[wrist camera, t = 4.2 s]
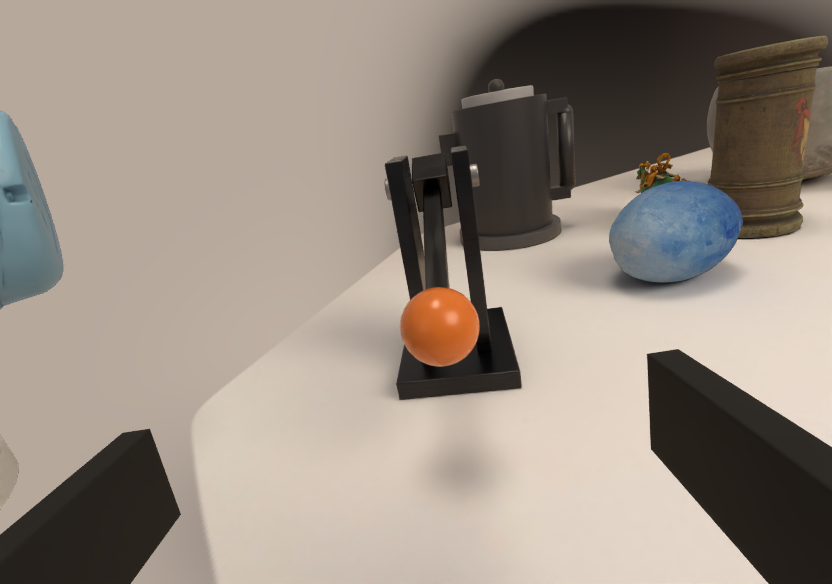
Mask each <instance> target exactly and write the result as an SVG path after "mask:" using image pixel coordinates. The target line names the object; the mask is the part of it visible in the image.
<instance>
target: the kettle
mask: <svg viewBox="0 0 832 584" xmlns="http://www.w3.org/2000/svg"><path fill="white" fill-rule="evenodd" d="M488 91H489V93H486V94H481V95H476V96H472V97H468V98H464V99H462V109H460V110H455V111H452V112H451V114H452V122H453V130H454V132H453V133H448V134H442V135H439V141H440V148H441V153H445V155H446V162H447V166H450V165H453V163H452V155H451V148H453V147H459V146H466V148H467V149H468V152H469V161H470V165H472V164H477V168H478V175H479V186H476V187H473V195H474V203H475V211H476V220H477V228H478V237H479V245H480V250H509V249H517V248H524V247H529V246H533V245H537V244H540V243H544V242H546V241H549V240H551V239H553V238H555V237H557V236H558V235H559V234H560V232H561V221H560V218H559V217H558V216H556V215H553V214H552V200H558V199H565V198H571V190H572V189H573V188H574V186H575V160H574V129H573V109H572V108H571V106H570V105H567V97H565V98H559V99H554V100H548V101H546V94H541V95H533V86H525V87H518V88H512V89H506V90H504V84H503V82H502V81H501V80H499V79H494V80H492V81H491V82H490V84H489V86H488ZM552 113H557V114H556V115H557V134H558V135H557V137H558V159H559V180H560V185H559V186H553V187H551V179H550V159H549V141H548V121H547V114H552ZM460 239H461V243H462V245H463V238H462V231H461V229H460Z"/></svg>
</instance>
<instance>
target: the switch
mask: <svg viewBox="0 0 832 584" xmlns="http://www.w3.org/2000/svg"><path fill="white" fill-rule="evenodd" d="M412 184H413V188H414V193H415V197H416V202H417V206H418V211H419V212H423V213H424V216H423V217H424V254H425V290H424V291H422V292H420V293H418V294H417V295H416V296H414V297H413V298H412V299H411V300H410V301H409V303H408V304H407V305H406V307H405V309H404V311H403V314H402V317H401V323H400V330H401V336H402V340H403V342H404V344H405V346H406V348H407V349H408V351H409V352H410V353H411V354H412V355H413V356H414V357H415V358H416V359H418V360H419V361H421V362H423V363H425V364H428V365H431V366H449V365H452V364H455V363H457V362H459V361H461V360H462V359H464V358H465V357H466V356H467V355H468V354H469V353H470V352H471V351H472V349H473V348H474V346H475V344H476V342H477V339H478V336H479V319H478V314H477V312H476V310H475V308H474V306H473V304H472V303H471V302H470V301H469V300H468V299H467V298H466V297H465V296H464V295H463V294H461V293H460V292H458V291H456V290H453V289H450V288H449V278H448V265H447V253H446V241H445V228H444V216H443V208H449V207H452V201H451V191H450V183H449V176H448V169H447V162H446V155H445V153H440V154H434V155H428V156H422V157H416V158H412Z"/></svg>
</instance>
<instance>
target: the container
mask: <svg viewBox="0 0 832 584" xmlns="http://www.w3.org/2000/svg"><path fill="white" fill-rule="evenodd" d="M827 44H828V39H827V37H826V36H818V37H811V38H804V39H798V40H793V41H788V42H783V43H777V44H772V45H767V46H762V47H758V48H753V49H749V50H744V51H739V52H736V53H732V54H728V55H725V56H721V57H718V58H717V59H716V61H715V64H714V67H715V68H716V69H717V70H719V71H720V75H719V76H717V79H718V83H719V88H718V98H717V100H716V101H715V103H716V105H717V107H716V119H715V132H714V146H713V159H712V169H711V178H710V179H709V181H708V184H709V185H711V186H714V187H716V188H718V189H720V190H721V191H723V192H724V193H726V194H727V195H728V196H729V197H730V198H731V199H732V200H734V201H735V202H736V204H737V205H738V207H739V209H740V211H741V214H742V219H743V225H742V228H741V231H740V234H739V236H738V238H761V237H771V236H778V235H784V234H788V233H791V232H794V231H796V230H798V229H799V228H800V226H801V224H802V222H803V216H802V215H801V214H800V213H799V212H798V211H797V210H800V209H801V208H802V207H803V203H802V200H801V199H800V191H801V183H802V180H803V178H804V173H803V172H802V171H803V163H804V155H805V148H806V142H807V135H808V128H809V122H810V115H811V106H812V100H813V95H814V90H815V89H816V85H815V75H816V66H818V65H819V64H818V62H819V61H821V58H820V57H818V53H819V52H820V51H822V50H823V49H824V48H825V47H826V46H827Z"/></svg>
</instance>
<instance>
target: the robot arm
mask: <svg viewBox="0 0 832 584" xmlns="http://www.w3.org/2000/svg"><path fill="white" fill-rule="evenodd" d="M62 274H63V259H62V254H61V249H60V245H59V241H58V237H57V233H56V230H55V226H54V223H53V220H52V217H51V213H50V210H49V207H48V204H47V201H46V198H45V195H44V192H43V189H42V187H41V184H40V181H39V178H38V175H37V173H36V170H35V167H34V165H33V162H32V160H31V157H30V155H29V152H28V150H27V147H26V145H25V143H24V141H23V138H22V136H21V134H20V132H19V130H18V128H17V127H16V126H15V124H14V123H13V122H12V119H11V118H10V116H9V115H7V114H6V113H5V112H3V111H0V309H1V308H2V307H3V306H4V305H7V304H11V303H14V302H17V301H20V300H23V299H26V298H29V297H33V296H35V295H39V294H42V293H44V292H47V291H48V290H50V289H51V288H52V287H54V286H55V285H56V284H57V283H58V281H59V280H60V279H61V277H62ZM647 362H648V387H649V413H650V438H651V450H652V451H653V452H654V453H655V454H656V455H657V456H658V458H659V459H660V460H661V461H662V462H663V463H664V464H665V466H666V467H667V468H668V469H669V470H670V471H671V472H672V474H673V475H674V476H675V477H676V478H677V479H678V480H679V482H680V483H681V484H682V485H683V486H684V487H685V488H686V490H687V491H688V492H689V493H690V494H691V495H692V496H693V498H694V499H695V500H696V501H697V502H698V503H699V504H700V506H701V507H702V508H703V509H704V510H705V511H706V512H707V514H708V515H709V516H710V517H711V518H712V519H713V520H714V522H715V523H716V524H717V525H718V526H719V527H720V529H721V530H722V531H723V532H724V533H725V534H726V535H727V537H728V538H729V539H730V540H731V541H732V542H733V543H734V545H735V546H736V547H737V548H738V549H739V550H740V551H741V553H742V554H743V555H744V556H745V557H746V558H747V559H748V561H749V562H750V563H751V564H752V565H753V566H754V567H755V569H756V570H757V571H758V572H759V573H760V574H761V575H762V577H763V578H764V579H765V580H766V581H767V582H768V583H769V584H832V447H831V446H829V445H828V444H826V443H824V442H823V441H821V440H820V439H818V438H817V437H815V436H813V435H812V434H810V433H809V432H807V431H806V430H804V429H802V428H801V427H799V426H798V425H796V424H795V423H793V422H791V421H790V420H788V419H787V418H785V417H784V416H782V415H780V414H779V413H777V412H776V411H774V410H773V409H771V408H769V407H768V406H766V405H765V404H763V403H762V402H760V401H759V400H757V399H755V398H754V397H752V396H751V395H749V394H748V393H746V392H744V391H743V390H741V389H740V388H738V387H737V386H735V385H733V384H732V383H730V382H729V381H727V380H726V379H724V378H722V377H721V376H719V375H718V374H716V373H715V372H713V371H711V370H710V369H708V368H707V367H705V366H704V365H702V364H700V363H699V362H697V361H696V360H694V359H693V358H691V357H689V356H688V355H686V354H685V353H683V352H682V351H680V350H678V349H677V350H670V351H663V352H657V353H650V354H647ZM180 515H181V514H180V511H179V508H178V505H177V503H176V500H175V497H174V494H173V492H172V489H171V486H170V483H169V481H168V478H167V475H166V473H165V470H164V467H163V464H162V461H161V459H160V456H159V453H158V450H157V448H156V445H155V442H154V440H153V437H152V434H151V431H150V429H146V430H139V431H132V432H126V433H122V434H121V435H120V436H118V437H117V438H116V439H115V440H114V441H112V442H111V443H110V444H109V445H108V446H106V447H105V448H104V449H103V450H102V451H101V452H99V453H98V454H97V455H96V456H94V457H93V458H92V459H91V460H90V461H88V462H87V463H86V464H85V465H84V466H82V467H81V468H80V469H79V470H77V471H76V472H75V473H74V474H73V475H71V476H70V477H69V478H68V479H67V480H65V481H64V482H63V483H62V484H61V485H59V486H58V487H57V488H56V489H55V490H53V491H52V492H51V493H50V494H49V495H48V496H46V497H45V498H44V499H43V500H42V501H40V502H39V503H38V504H37V505H36V506H34V507H33V508H32V509H31V510H30V511H29V512H27V513H26V514H25V515H24V516H22V517H21V518H20V519H19V520H17V521H16V522H15V523H14V524H13V525H11V526H10V527H9V528H8V529H7V530H6V531H4V532H3V533H2V534H1V535H0V584H131V582H132V581H133V580H134V578H135V577H136V575H137V574H138V573H139V571H140V570H141V569H142V567H143V566H144V564H145V563H146V562H147V560H148V559H149V558H150V556H151V555H152V553H153V552H154V551H155V549H156V548H157V546H158V545H159V544H160V542H161V541H162V540H163V538H164V537H165V535H166V534H167V533H168V531H169V530H170V529H171V527H172V526H173V524H174V523H175V521H176V520H177V519H178V518H179V516H180Z"/></svg>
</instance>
